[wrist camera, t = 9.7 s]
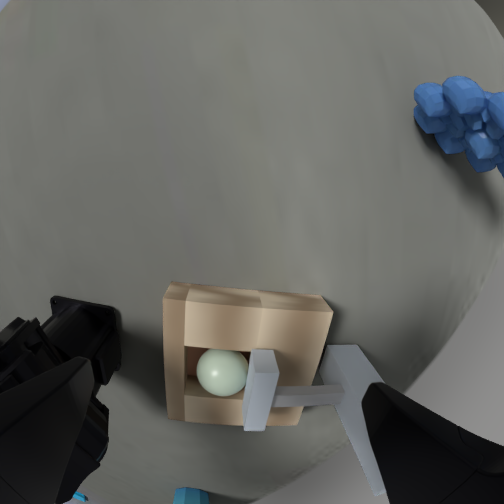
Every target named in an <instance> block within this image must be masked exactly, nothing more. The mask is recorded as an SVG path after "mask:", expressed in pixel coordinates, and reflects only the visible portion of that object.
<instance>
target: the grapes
mask: <svg viewBox="0 0 504 504" xmlns="http://www.w3.org/2000/svg"><path fill="white" fill-rule="evenodd" d="M414 99H415V101H416V103H417V104H418V105H417V106H416V107H415V108H414V117H415V119H416V121H417V123H418V125H419V126H420V127H421V128H422V129H423V130H424V131H425V132H426V133H427V134H431V133H435V134H434V136H435V138H436V140H437V143H438V144H439V146H440V147H441V148H442V150H443V151H444V152H445V153H446V154H456V153H460V152H463V151H464V150H465V154H466V156H467V159H468V161H469V162H470V164H471V165H472V167H473V168H474V169H475V171H476V172H487V171H491V170H493V169H494V168H495V167H496V165H497V168H498V170H499V171H500V173H501V174H502V176H503V178H504V92H498V93H490V92H486V91H483V89H482V88H481V87H480V86H479V85H478V84H477V83H476V82H474V81H473V80H471V79H470V78H467V77H463V76H453V77H450V78H447V79H446V80H445V82H444V83H443V84H442V86H441V85H440V84H437V83H424V84H420V85H418V87H417V88H416V89H415V90H414Z"/></svg>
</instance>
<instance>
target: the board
mask: <svg viewBox="0 0 504 504" xmlns="http://www.w3.org/2000/svg"><path fill="white" fill-rule="evenodd" d="M332 316H333V311H332V310H331V308H330V307H329V306H328V304H327V303H326V302H325V300H324V299H323V298H322V296H321V295H310V294H296V293H282V292H270V291H258V290H247V289H236V288H225V287H215V286H206V285H196V284H187V283H179V282H171V283H170V285H169V287H168V289H167V291H166V293H165V295H164V297H163V347H164V371H165V387H166V401H167V412H168V419H171V420H179V421H187V422H196V423H206V424H220V425H240V426H244V425H243V414H242V404H243V398H244V392H245V386H246V385H245V386H244V387H243V388H242V389H241V390H240V391H239V392H237V393H235V394H233V395H230V396H217V395H214V394H212V393H210V392H208V391H207V390H205V389H204V388H203V386H202V385H201V384H200V382H199V380H198V377H197V364H198V361H199V359H200V357H201V356H202V355H203V354H204V353H205V352H206V351H207V350H209V349H222V350H235V351H239V352H240V353H241V354H242V355H243V356H244V357H245V359H246V360H247V363H248V366H249V362H250V356H251V350H252V349H262V350H273V351H274V355H275V359H276V362H277V366H278V370H279V377H278V381H277V385H276V386H311V385H312V382H313V379H314V376H315V373H316V370H317V367H318V364H319V361H320V357H321V354H322V351H323V347H324V344H325V341H326V337H327V334H328V330H329V327H330V323H331V319H332ZM303 408H304V406H300V407H271V408H270V412H269V416H268V419H267V423H266V426H283V425H297V423H298V421H299V418H300V416H301V413H302V410H303Z"/></svg>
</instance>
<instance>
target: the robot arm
mask: <svg viewBox="0 0 504 504" xmlns="http://www.w3.org/2000/svg"><path fill="white" fill-rule="evenodd" d="M55 301H56V302H55ZM50 303H51V309H52V316H51V317H50V318H49V319H48V320H47V321H46V322H45V323H44V324H42V325H41V326H40V322H39V321H38V319H37V318H34V319H32V320H31V321H29V320H27V321H25V320H23V319H21V318H20V317H17V318H16V319H15V320H14V321H12V322H11V323H10V324H9V325H8V326H6V327H5V328H4V329H3V330H2V331H1V332H0V504H63V503H65V502H67V501H69V500H71V499H72V497H73V495H74V494H75V492H76V491H77V489H78V487H79V486H80V484H81V483H82V482H83V480H84V479H85V478H86V477H87V476H88V475H89V474H90V473H92V472H93V471H94V470H96V469H97V468H98V467H100V463H99V462H100V461H101V460H102V459H103V457H104V455H105V453H106V451H107V447H108V442H109V437H108V421H109V409H108V408H107V407H106V406H105V405H104V404H102V403H101V402H100V401H99V400H98V399H97V398H96V395H97V393H98V391H99V389H100V387H101V385H105V386H106V385H107V384H108V383H109V381H110V379H111V377H112V375H113V373H114V371H118V370H119V369H120V367H121V363H120V359H121V357H122V355H121V347H120V339H119V333H118V332H117V331H116V323H115V312H114V310H113V308H112V307H110V306H105V305H100V304H94V303H89V302H84V301H79V300H74V299H69V298H65V297H60V296H53V297H52V298H51V299H50ZM107 311H109V312H110V314H108V313H107ZM361 407H362V411H363V415H364V420H365V424H366V428H367V433H368V437H369V441H370V444H371V447H372V450H373V453H374V456H375V459H376V462H377V465H378V468H379V471H380V474H381V477H382V480H383V483H384V487H385V490H386V493H387V496H388V499H389V503H390V504H504V446H502V445H499V444H496V443H494V442H492V441H489V440H487V439H484V438H482V437H480V436H477V435H475V434H473V433H471V432H469V431H467V430H465V429H463V428H462V427H460V426H457V425H456V424H454V423H452V422H450V421H449V420H446V419H445V418H443V417H441V416H440V415H438V414H436V413H434V412H432V411H431V410H429V409H427V408H425V407H424V406H422V405H420V404H418V403H417V402H415V401H413V400H412V399H410V398H408V397H406V396H405V395H403V394H402V393H400V392H398V391H396V390H395V389H393V388H391V387H390V386H388V385H386V384H385V383H383V382H373V383H371V384H370V385H369V386H368V388H367V390H366V392H365V394H364V396H363V398H362V401H361Z"/></svg>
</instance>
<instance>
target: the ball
mask: <svg viewBox="0 0 504 504" xmlns="http://www.w3.org/2000/svg"><path fill="white" fill-rule="evenodd" d="M248 368H249V366H248V363H247V360H246V359H245V357H244V356H243V355H242V354H241V353H240V352H239V351H235V350H222V349H209V350H207V351H206V352H205V353H204V354H203V355H202V356H201V357H200V359H199V361H198V364H197V377H198V380H199V382H200V384H201V385H202V386H203V388H204V389H205V390H207V391H208V392H210V393H212V394H214V395H217V396H230V395H233V394H235V393H237V392H239V391H240V390H241V389H242V388H243V387H244V386H245V385H246V380H247V374H248Z"/></svg>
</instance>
